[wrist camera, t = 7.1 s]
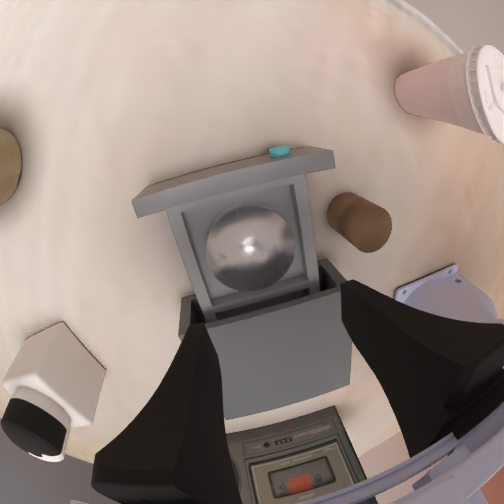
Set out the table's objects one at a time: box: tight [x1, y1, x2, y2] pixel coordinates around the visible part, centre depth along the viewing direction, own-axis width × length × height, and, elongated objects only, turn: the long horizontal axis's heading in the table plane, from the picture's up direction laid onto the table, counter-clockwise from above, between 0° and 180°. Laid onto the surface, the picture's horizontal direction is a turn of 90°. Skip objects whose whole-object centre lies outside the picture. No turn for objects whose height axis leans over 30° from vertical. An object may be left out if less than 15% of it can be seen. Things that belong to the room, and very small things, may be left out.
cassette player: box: [226, 406, 378, 504], centre depth 24 cm, size 29×7×20 cm, turn 102°
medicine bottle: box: [1, 322, 106, 462], centre depth 17 cm, size 7×7×12 cm
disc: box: [206, 202, 295, 291], centre depth 18 cm, size 6×6×2 cm
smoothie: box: [395, 45, 504, 144], centre depth 11 cm, size 6×6×14 cm
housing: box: [178, 259, 352, 420], centre depth 22 cm, size 12×12×4 cm
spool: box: [328, 193, 392, 253], centre depth 19 cm, size 3×3×4 cm
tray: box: [132, 145, 335, 323], centre depth 18 cm, size 12×11×4 cm
